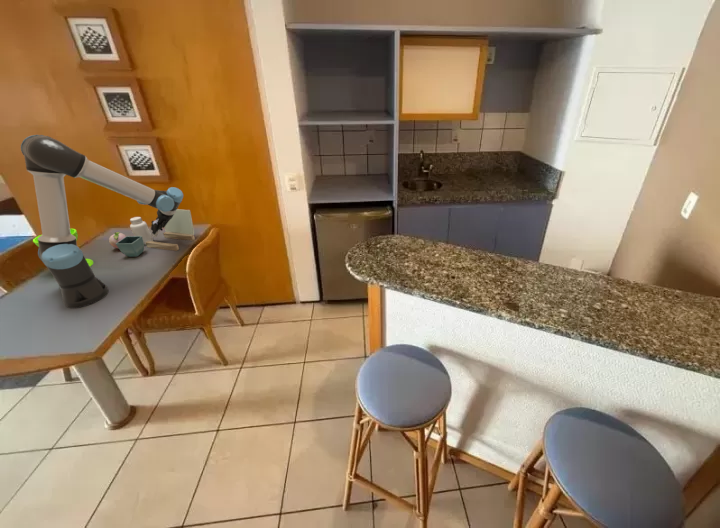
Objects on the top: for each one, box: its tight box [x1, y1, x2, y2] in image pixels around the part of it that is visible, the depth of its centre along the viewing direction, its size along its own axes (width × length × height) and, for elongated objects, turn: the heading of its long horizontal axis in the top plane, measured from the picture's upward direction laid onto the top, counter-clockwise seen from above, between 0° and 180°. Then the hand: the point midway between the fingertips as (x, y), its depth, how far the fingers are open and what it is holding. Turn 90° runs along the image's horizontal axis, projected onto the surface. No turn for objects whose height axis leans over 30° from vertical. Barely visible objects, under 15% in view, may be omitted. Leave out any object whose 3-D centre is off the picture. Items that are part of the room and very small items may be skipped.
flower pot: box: [116, 235, 145, 258], centre depth 164 cm, size 9×9×9 cm
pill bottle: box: [129, 216, 154, 246], centre depth 175 cm, size 8×8×15 cm
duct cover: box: [164, 208, 195, 235], centre depth 179 cm, size 14×20×1 cm
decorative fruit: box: [108, 231, 127, 249], centre depth 170 cm, size 9×8×10 cm
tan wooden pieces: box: [145, 231, 196, 252], centre depth 175 cm, size 20×20×18 cm
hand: (153, 235), depth 178 cm, fingers closed
